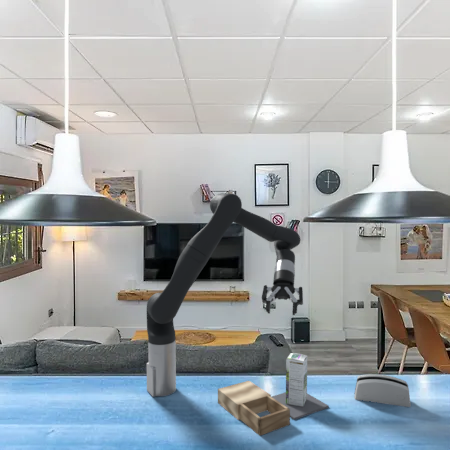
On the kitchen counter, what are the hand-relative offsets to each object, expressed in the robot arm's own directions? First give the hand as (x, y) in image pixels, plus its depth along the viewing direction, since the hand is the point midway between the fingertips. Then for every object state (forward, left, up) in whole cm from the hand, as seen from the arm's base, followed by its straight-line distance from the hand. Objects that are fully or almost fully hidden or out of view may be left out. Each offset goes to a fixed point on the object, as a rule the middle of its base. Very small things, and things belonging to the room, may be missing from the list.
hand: (281, 313), depth 130 cm
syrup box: (-2, -10, -26) cm, 28 cm away
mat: (-2, -10, -27) cm, 28 cm away
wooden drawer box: (-17, -7, -27) cm, 32 cm away
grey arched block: (+22, -23, -27) cm, 42 cm away
